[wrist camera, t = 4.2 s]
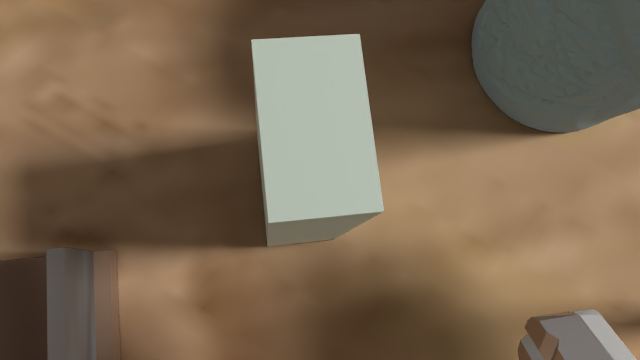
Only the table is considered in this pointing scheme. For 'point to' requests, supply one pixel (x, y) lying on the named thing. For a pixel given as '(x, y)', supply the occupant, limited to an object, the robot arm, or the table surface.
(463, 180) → the table surface
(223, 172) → the table surface
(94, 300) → the track
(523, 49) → the blue-grey cylindrical cup
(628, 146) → the table surface
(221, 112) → the table surface
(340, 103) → the pale green eraser block
